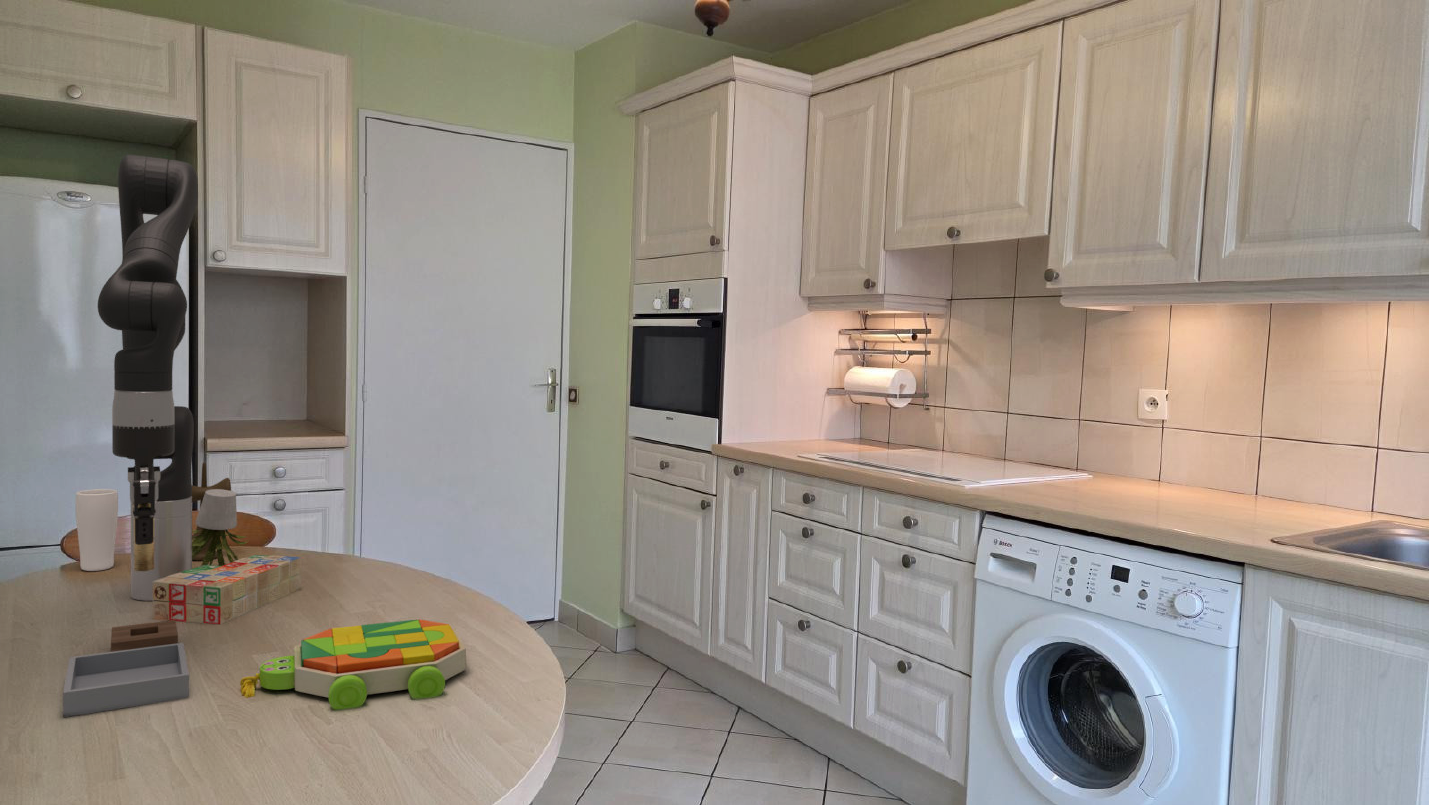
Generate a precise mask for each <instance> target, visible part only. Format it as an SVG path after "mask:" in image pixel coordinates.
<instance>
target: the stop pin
mask: <svg viewBox="0 0 1429 805" xmlns="http://www.w3.org/2000/svg"><path fill="white" fill-rule="evenodd" d="M141 507H150V503H140V504H138V508H141ZM153 569H154V518H153V542H152V543H151V544H142V545H137V544H136V543H135V519H134V571H149V570H153Z"/></svg>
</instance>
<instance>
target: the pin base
mask: <svg viewBox="0 0 1429 805" xmlns="http://www.w3.org/2000/svg"><path fill="white" fill-rule="evenodd" d="M178 635H179V634H178V629H177V621H175V620H171V621H170V620H162V621H155V622H145V623H137V624H136V623H135V624H129V625H128V624H127V625H118V626H112V627H111V633H110V652H114V651H122V650H130V649H138V648H145V647H153V646H161V645H169V644H177V643H179V637H178Z"/></svg>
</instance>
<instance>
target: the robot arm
mask: <svg viewBox="0 0 1429 805" xmlns="http://www.w3.org/2000/svg"><path fill="white" fill-rule="evenodd" d="M198 183H199V181H198V176H197V171H196V170H195V168H194V167H193V166H192V165H191V164H190V163H189V162H185V161H181V160H176V159H169V158H168V159H167V158H160V157H154V156H153V157H151V156H144V155H135V154H134V155H133V154H126V155H124V156H123V157H122V158H121V160H120V162H119V166H118V172H117V187H118V188H117V189H118V191H117V192H118V205H119V207H118V208H119V218H120V232H121V246H122V247H121V249H122V252H121V253H122V258H121V259H122V261H121V264H120V266H118V268H117V269H116V270H115V272H114V273H113V274H111V276H110V277H109V278H108V279H107V281H106V282H105V283H104V285H103V286H102V288H101V290H100V292H99V296H98V299H97V312H98V316H99V318H100V319H101V321H102V323H104V324H105V325H106V326H107V327H109V328H111V329H114V330H116V331H121V342H122V349H120V350H118V351H117V352H116V353H115V355H114V360H113V361H114V362H113V363H114V364H113V366H114V368H113V370H114V375H113V376H114V383H113V384H114V385H113V386H114V387H113V388H114V392H113V401H112V409H111V410H112V412H111V413H112V417H111V419H112V420H111V421H112V422H111V424H112V426H111V428H112V432H111V434H112V441H111V442H112V447H111V448H112V454H113V455H114V456H115V457H119V458H125V459H128V460H134V466H130V467H127V481H128V483H129V501H130V598H132V599H133V600H136V601H137V600H138V601H149V602H150V601H154V600H153V581H156V580H159V579H162V578H165V577H167V576H170V575H174V574H177V573H181V572H183V571H186V570H189V569H193V560H192V542H193V540H192V535H193V532H192V530H193V503H192V485H193V480H192V478H193V477H192V476H193V473H192V471H193V470H192V468H193V466H192V464H193V461H192V460H193V450H194V449H193V448H194V438H195V437H194V434H195V433H194V432H195V422H194V417H193V416H194V415H193V413H192V411H191V410H190V408H189V407H187V406H180V405H177V406H176V405H175V400H174V395H173V369H174V364H173V363H174V355H175V351H176V349H178V346H179V345H180V344H181V342H182V340H183V339H184V336H185V334H186V316H187V315H186V314H187V310H188V300H187V297H186V295H185V292H184V290H183V288H182V285H181V284H180V283H179V281H178V279H177V275H178V268H179V260H180V253H181V250H182V249H181V248H182V245H183V242H184V240H185V239H186V236H187V233H188V231H189V228H190V227H191V223H192V221H193V218H194V215H195V213H196V209H197V205H198V198H199V184H198ZM144 215H151V216H154V217H152V218H151V219H149V220H148V221H146V222H145V221H144ZM169 459H170V460H171V463H170V464H169V465H168V466H167V467H165V468H164V469H163V470H161V466H160V465H159V466H158V465H156V466H154V460H169ZM140 503H150V507H141V508H138V504H140ZM153 518H154V569H153V570H149V571H134V519H135V543H136V544H137V545H142V544H151V543H152V542H153Z"/></svg>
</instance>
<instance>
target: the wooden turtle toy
mask: <svg viewBox="0 0 1429 805" xmlns="http://www.w3.org/2000/svg"><path fill="white" fill-rule="evenodd" d="M466 650H467V648H466V646H465V645H464V643H463V641H462V639H461V637H460V635H459V633H458V631H457V629H455V628H452V626H451V625H450V624H449V623H443V622H438V621H437V622H436V621H431V620H425V619H410V620H398V621H391V622H390V621H387V622H380V623H379V622H378V623H367V624H362V625H354V626H343V627H332V628H331V627H330V628H328V629H326V630H323V631H320V632H317V633H315V634H313V635H311V636H308V637H305V638H304V639H302V640H301V641H300V643H299V644H298V645H295V646H294V648H293V655H286V656H279V657H275V658H271V659H268V660H266V661H264V662H263V663H262V664H261V665H260V667H259V673H257V672H256V673H255V676H254V675H253V676H244V677H242V678H241V679H240V681H239V683H240V684H239V685H240V692H241V696H243V697H244V698H245V699H248V698H253V697H254V698H255V696H256V692H255V691H256V689H257V684H258V683H259V686H260V687H261V688H264V689H268V690H274V691H276V690H277V691H279V690H281V691H282V690H291V689H294V690H295V691H296V692H299V693H305V694H309V695H314V696H319V697H325V698H327V699H328V703H329V705H330V707H331V708H332V709H333V710H335V711H340V710H341V711H342V710H347V709H355V708H359V707H363V705H364V703H365V701H366V699H367V696H369V695H375V694H382V693H390V692H396V691H404V690H405V691H406V690H408V693H409V696H410V697H411V699H412V700H420V699H427V698H435V697H439V696H441V695H442V693H443V692H444V690H445V688H446V687H445V686H446V681H447V680H449V679H450V678H452V677H454V676H456V675H458V674H460V673H462V672H463V671H466V668H467V651H466ZM258 680H259V681H258Z"/></svg>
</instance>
